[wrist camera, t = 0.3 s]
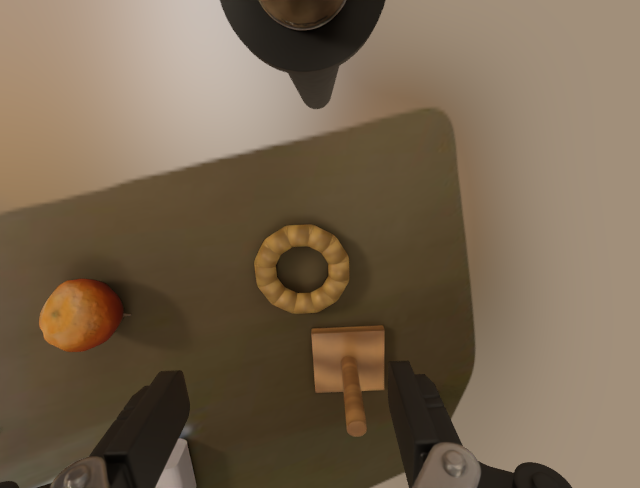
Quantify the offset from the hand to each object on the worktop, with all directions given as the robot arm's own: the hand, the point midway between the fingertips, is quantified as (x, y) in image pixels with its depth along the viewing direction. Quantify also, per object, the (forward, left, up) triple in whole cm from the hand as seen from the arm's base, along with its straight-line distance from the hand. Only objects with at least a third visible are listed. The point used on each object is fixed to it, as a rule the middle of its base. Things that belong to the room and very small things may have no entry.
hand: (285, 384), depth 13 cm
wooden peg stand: (+19, +4, -26) cm, 32 cm away
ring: (+6, -1, -25) cm, 26 cm away
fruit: (+9, -26, -26) cm, 38 cm away
